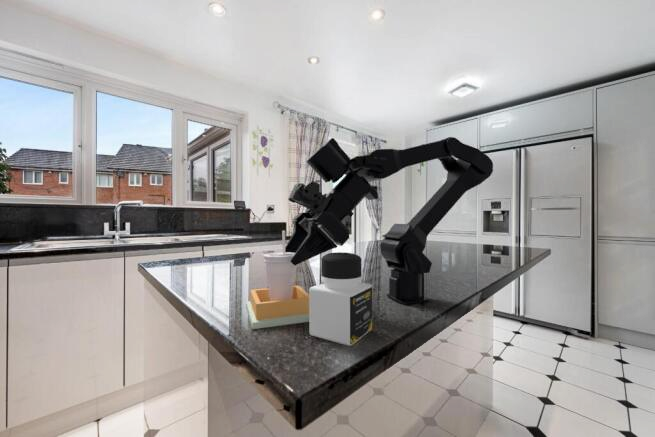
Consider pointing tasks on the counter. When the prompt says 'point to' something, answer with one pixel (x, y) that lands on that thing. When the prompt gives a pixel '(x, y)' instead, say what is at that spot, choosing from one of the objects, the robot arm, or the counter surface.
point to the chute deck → (277, 308)
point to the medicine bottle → (340, 301)
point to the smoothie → (280, 273)
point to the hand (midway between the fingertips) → (287, 259)
